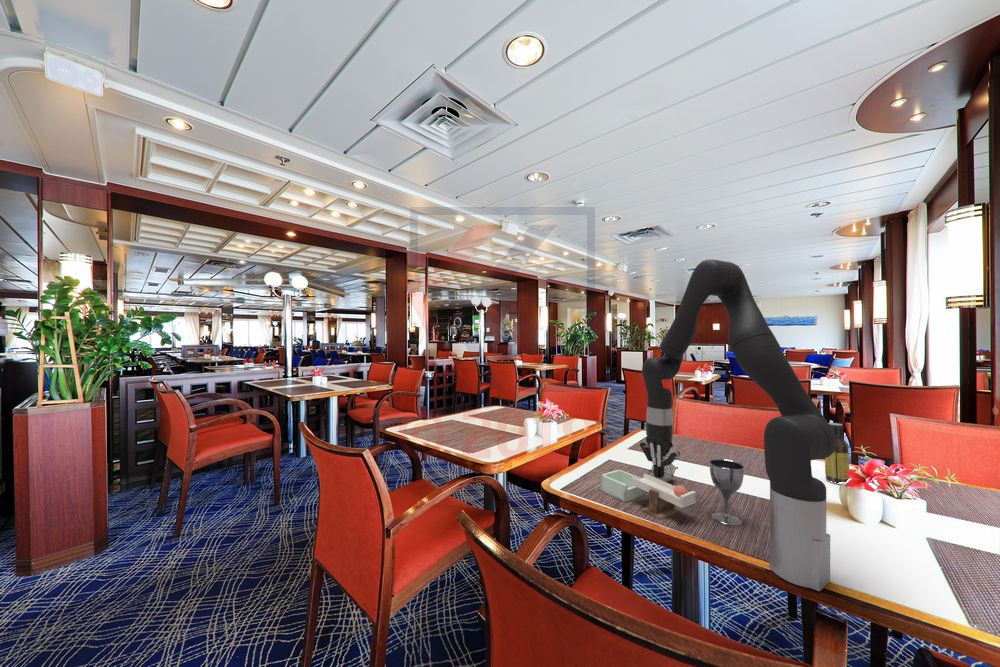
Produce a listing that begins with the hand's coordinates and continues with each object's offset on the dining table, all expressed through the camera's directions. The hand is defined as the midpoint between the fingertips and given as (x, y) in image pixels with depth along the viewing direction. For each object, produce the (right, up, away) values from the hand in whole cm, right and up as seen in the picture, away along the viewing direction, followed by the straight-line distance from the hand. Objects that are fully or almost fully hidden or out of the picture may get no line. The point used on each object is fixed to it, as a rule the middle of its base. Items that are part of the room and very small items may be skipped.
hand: (658, 477), depth 114 cm
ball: (0, +1, -14) cm, 14 cm away
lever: (0, -2, -7) cm, 7 cm away
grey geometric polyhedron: (+7, -6, +12) cm, 15 cm away
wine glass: (+13, -6, -14) cm, 20 cm away
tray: (-11, -6, +2) cm, 12 cm away
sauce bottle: (+66, -7, +12) cm, 68 cm away
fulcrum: (-3, -6, -9) cm, 12 cm away
